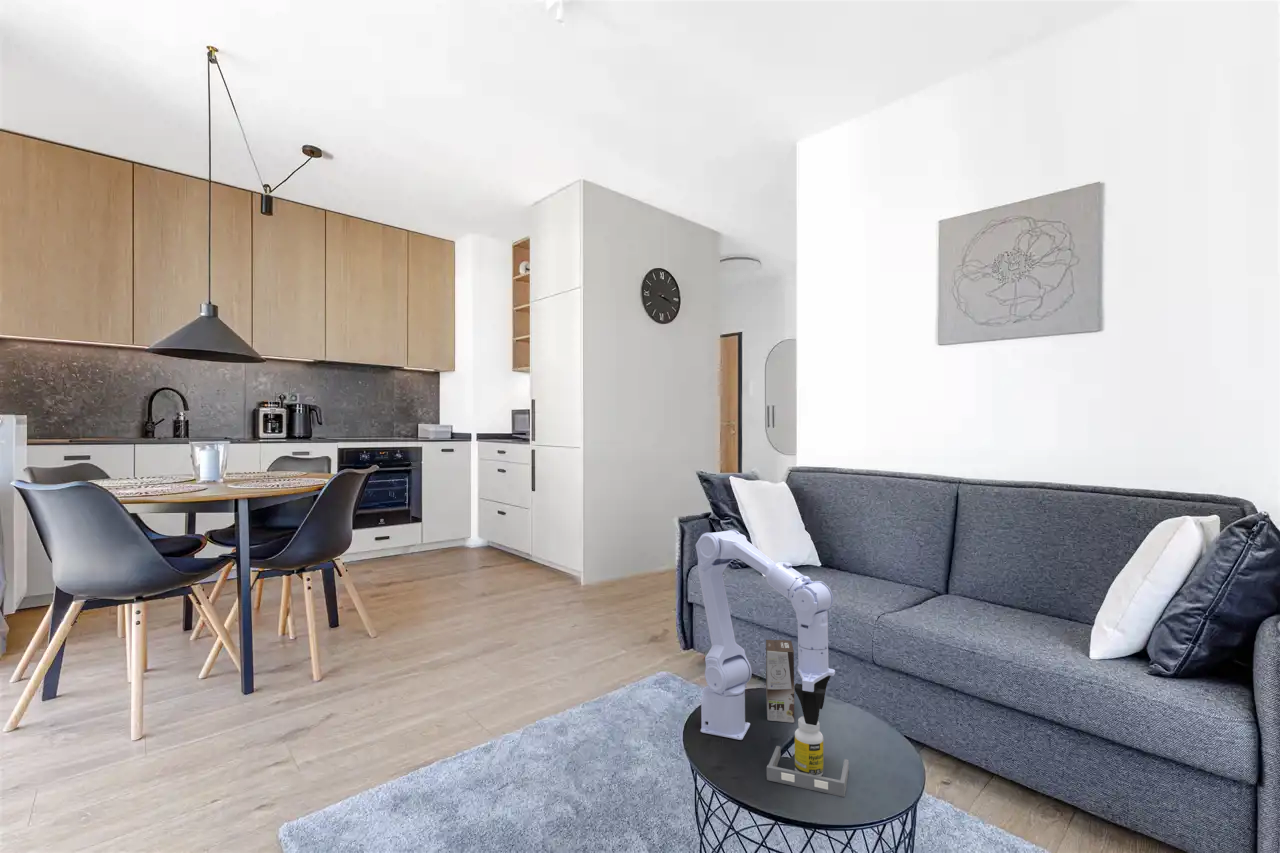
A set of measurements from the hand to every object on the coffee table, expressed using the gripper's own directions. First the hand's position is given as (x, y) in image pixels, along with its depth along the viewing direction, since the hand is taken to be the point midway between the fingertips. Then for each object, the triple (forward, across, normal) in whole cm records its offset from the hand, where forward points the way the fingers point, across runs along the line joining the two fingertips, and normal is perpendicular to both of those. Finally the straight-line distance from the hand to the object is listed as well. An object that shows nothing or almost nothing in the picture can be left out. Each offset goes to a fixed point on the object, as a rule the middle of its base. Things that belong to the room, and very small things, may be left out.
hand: (814, 715), depth 116 cm
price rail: (+10, -3, +1) cm, 11 cm away
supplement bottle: (+11, -1, +1) cm, 11 cm away
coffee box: (+11, +22, +11) cm, 27 cm away
